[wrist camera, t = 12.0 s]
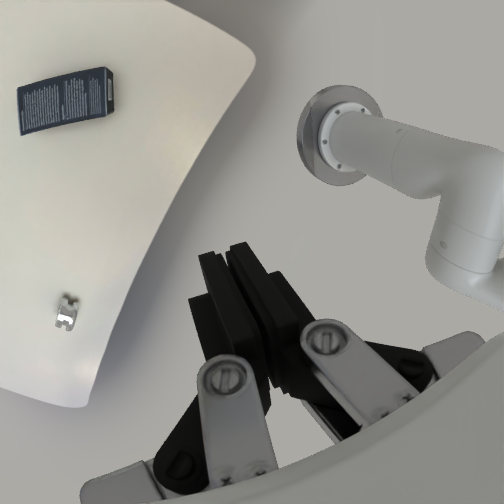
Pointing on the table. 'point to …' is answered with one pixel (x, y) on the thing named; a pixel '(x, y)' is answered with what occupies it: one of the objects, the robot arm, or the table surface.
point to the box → (65, 100)
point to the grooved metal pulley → (67, 314)
